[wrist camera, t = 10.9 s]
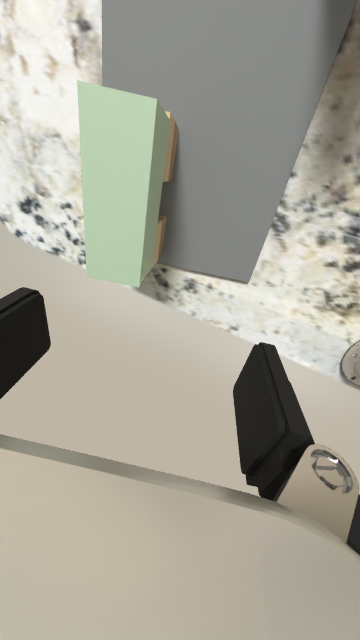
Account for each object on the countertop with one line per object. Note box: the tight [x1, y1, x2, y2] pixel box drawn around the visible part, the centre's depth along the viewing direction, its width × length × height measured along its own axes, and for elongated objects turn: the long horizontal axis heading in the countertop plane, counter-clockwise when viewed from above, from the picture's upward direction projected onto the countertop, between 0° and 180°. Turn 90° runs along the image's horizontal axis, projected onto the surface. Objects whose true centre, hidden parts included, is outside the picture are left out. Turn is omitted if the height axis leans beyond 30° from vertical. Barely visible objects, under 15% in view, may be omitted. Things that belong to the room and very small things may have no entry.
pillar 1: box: [150, 215, 167, 270], centre depth 28 cm, size 5×5×7 cm
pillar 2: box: [163, 111, 179, 182], centre depth 23 cm, size 5×5×7 cm
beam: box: [77, 80, 170, 288], centre depth 20 cm, size 5×13×6 cm, turn 169°
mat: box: [102, 0, 357, 282], centre depth 26 cm, size 22×27×1 cm
